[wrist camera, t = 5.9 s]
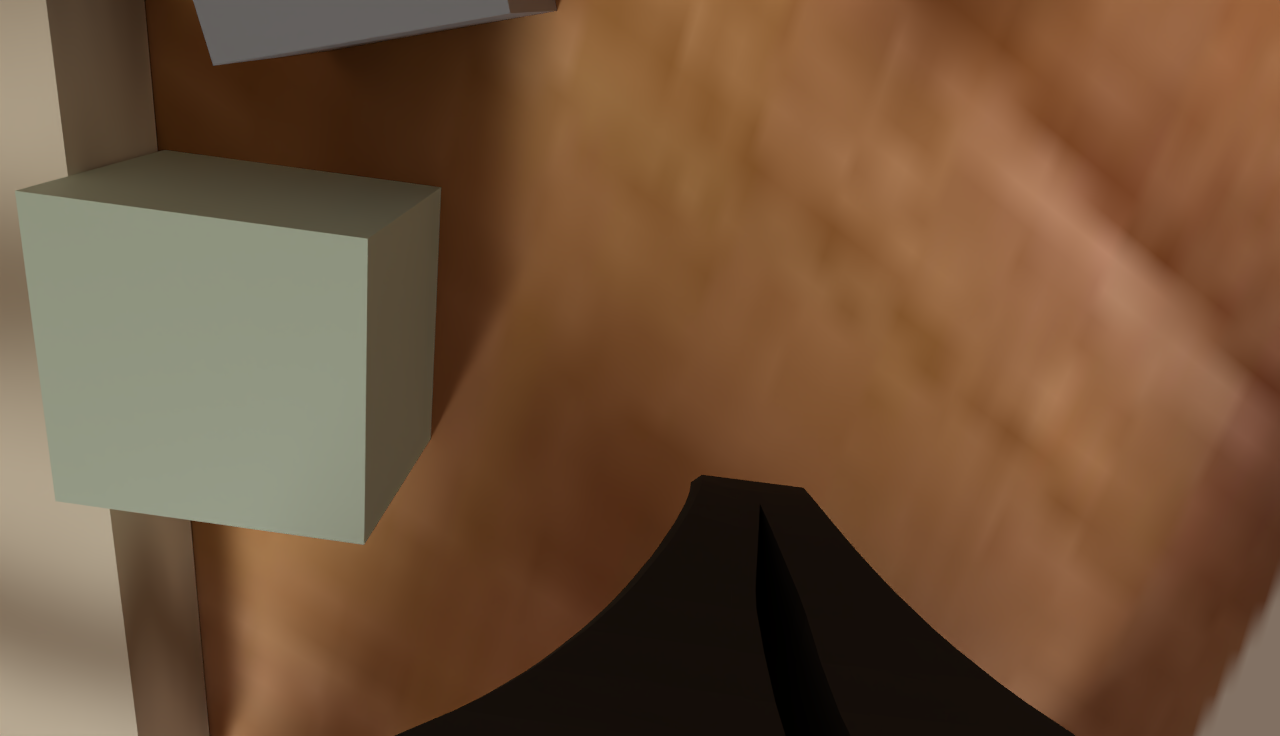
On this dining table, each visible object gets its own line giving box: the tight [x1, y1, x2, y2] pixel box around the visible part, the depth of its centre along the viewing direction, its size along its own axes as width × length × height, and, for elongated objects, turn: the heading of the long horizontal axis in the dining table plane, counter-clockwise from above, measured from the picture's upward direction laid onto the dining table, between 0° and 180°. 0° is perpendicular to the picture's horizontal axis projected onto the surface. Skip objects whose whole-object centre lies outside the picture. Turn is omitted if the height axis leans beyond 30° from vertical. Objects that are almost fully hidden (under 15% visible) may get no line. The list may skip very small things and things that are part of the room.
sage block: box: [15, 150, 441, 545], centre depth 16 cm, size 5×5×4 cm
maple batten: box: [0, 0, 209, 736], centre depth 16 cm, size 24×3×2 cm, turn 174°
